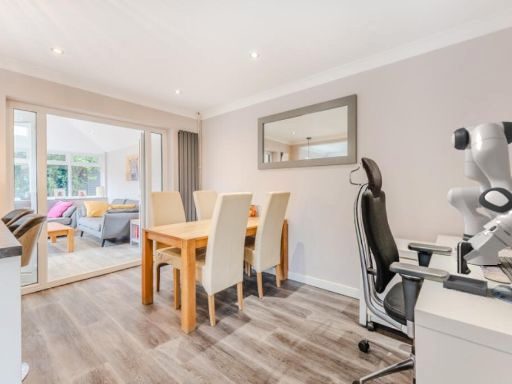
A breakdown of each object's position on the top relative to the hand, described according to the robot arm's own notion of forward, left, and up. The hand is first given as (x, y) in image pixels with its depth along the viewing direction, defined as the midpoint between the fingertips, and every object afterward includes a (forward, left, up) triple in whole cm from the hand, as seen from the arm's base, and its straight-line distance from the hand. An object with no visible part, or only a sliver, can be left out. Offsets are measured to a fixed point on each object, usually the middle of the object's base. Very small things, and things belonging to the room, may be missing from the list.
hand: (463, 256), depth 93 cm
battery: (0, +1, -6) cm, 6 cm away
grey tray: (0, +1, -11) cm, 11 cm away
